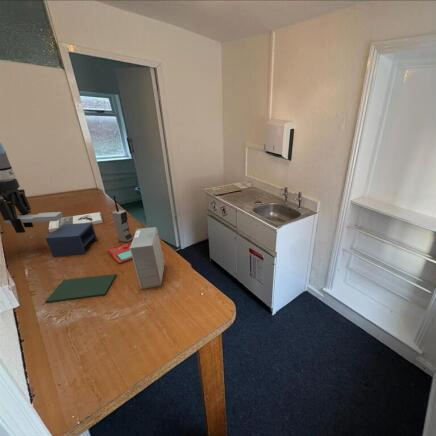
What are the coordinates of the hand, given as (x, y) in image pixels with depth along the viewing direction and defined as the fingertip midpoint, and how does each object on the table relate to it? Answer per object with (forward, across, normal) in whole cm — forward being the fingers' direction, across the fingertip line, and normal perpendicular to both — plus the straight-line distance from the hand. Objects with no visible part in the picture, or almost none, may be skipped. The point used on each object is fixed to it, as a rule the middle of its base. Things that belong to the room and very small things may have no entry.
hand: (25, 229), depth 105 cm
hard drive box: (+11, -31, -56) cm, 65 cm away
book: (+12, +30, -4) cm, 32 cm away
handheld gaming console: (+11, -10, -39) cm, 42 cm away
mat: (+11, -33, -32) cm, 48 cm away
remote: (-4, 0, -5) cm, 7 cm away
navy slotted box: (+11, 0, -16) cm, 20 cm away
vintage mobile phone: (+11, +4, -36) cm, 38 cm away
